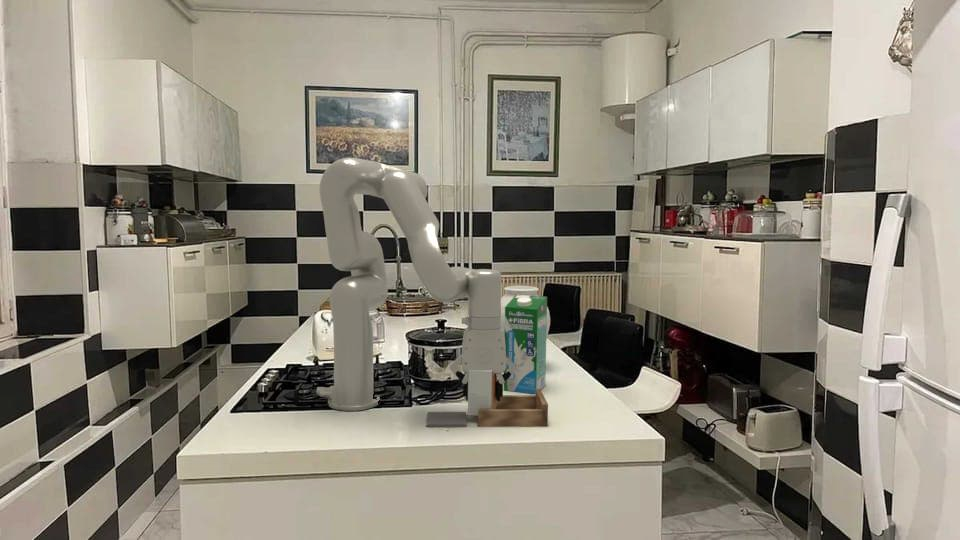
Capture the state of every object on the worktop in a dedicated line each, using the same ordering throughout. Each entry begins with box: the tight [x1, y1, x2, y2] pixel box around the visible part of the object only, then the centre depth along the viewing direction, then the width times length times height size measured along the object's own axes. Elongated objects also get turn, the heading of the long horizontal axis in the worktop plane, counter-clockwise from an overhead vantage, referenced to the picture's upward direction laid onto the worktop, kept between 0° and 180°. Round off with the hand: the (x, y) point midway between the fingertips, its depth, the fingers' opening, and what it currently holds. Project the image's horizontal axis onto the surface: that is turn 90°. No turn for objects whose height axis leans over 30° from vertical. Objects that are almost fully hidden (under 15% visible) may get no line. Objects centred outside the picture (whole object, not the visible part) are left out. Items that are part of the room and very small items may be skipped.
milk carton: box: [503, 295, 548, 395], centre depth 174 cm, size 9×9×25 cm
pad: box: [425, 411, 468, 428], centre depth 147 cm, size 9×9×1 cm
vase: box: [500, 285, 551, 341], centre depth 196 cm, size 18×18×25 cm
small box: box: [467, 370, 498, 416], centre depth 149 cm, size 8×6×10 cm
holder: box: [477, 389, 549, 427], centre depth 150 cm, size 16×12×5 cm
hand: (482, 398), depth 149 cm, fingers closed on small box, 6 cm apart
